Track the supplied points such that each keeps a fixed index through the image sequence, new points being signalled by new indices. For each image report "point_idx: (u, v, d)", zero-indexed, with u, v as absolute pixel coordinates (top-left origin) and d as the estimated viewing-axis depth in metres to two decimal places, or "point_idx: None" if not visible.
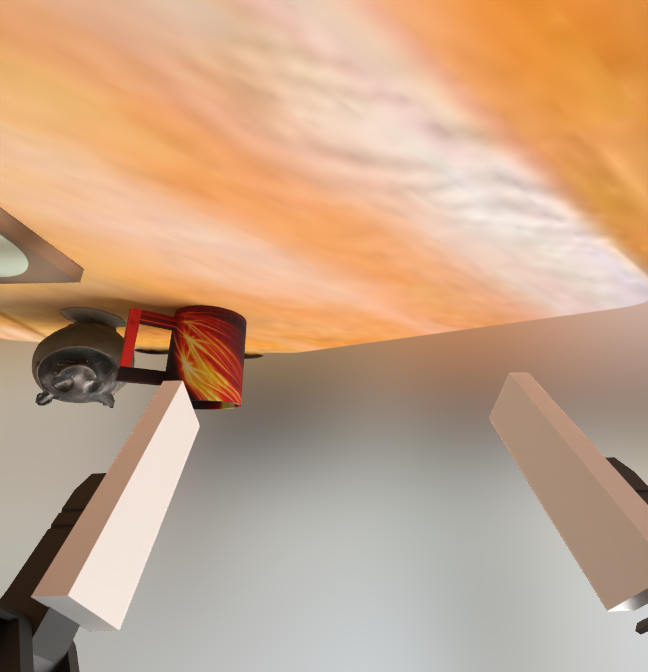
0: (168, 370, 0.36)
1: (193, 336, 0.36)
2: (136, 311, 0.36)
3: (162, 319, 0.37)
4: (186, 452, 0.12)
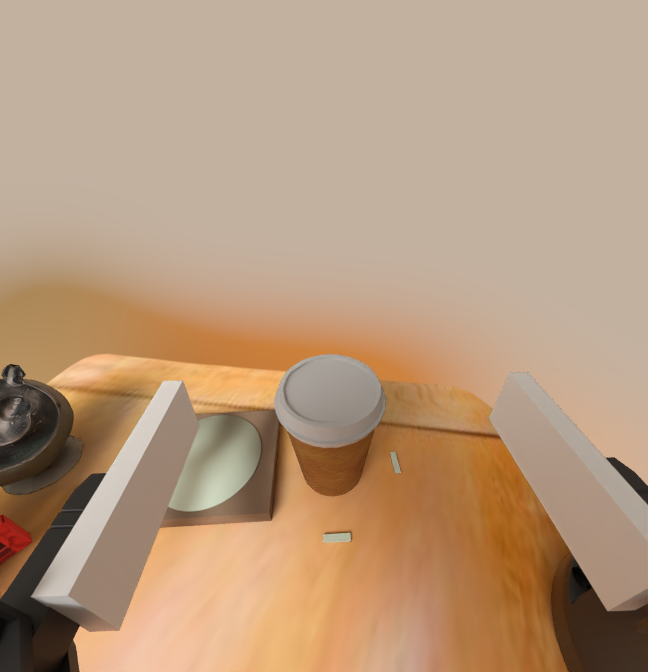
0: None
1: None
2: (21, 545, 0.25)
3: None
4: (186, 452, 0.12)
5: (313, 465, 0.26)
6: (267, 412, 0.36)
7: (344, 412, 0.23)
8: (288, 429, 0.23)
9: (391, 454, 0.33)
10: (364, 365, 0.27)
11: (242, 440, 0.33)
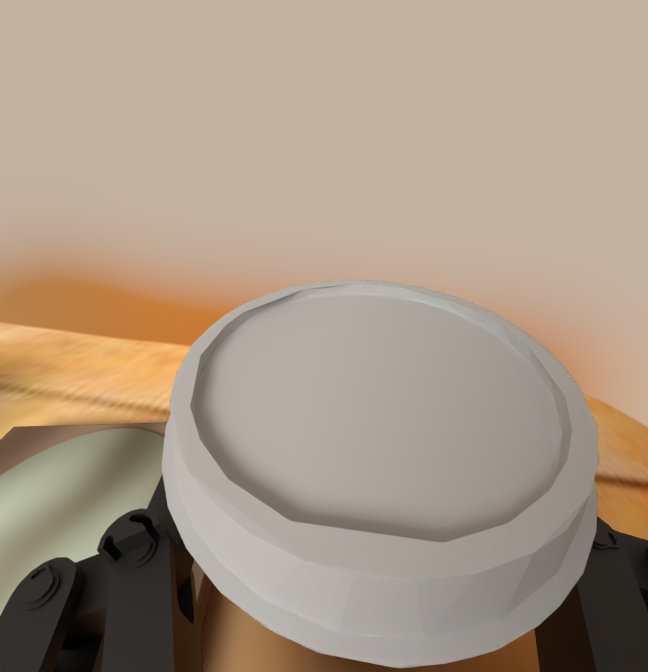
0: None
1: None
2: None
3: None
4: None
5: None
6: None
7: (452, 466, 0.05)
8: (187, 536, 0.05)
9: None
10: (467, 303, 0.09)
11: (148, 488, 0.15)
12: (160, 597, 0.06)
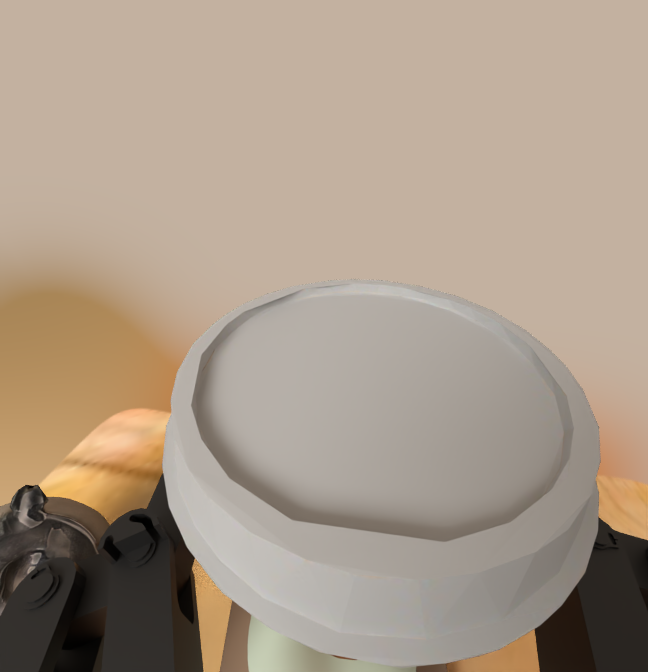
0: None
1: None
2: None
3: None
4: None
5: None
6: None
7: (454, 465, 0.05)
8: (188, 535, 0.05)
9: None
10: (467, 303, 0.09)
11: None
12: (160, 597, 0.06)
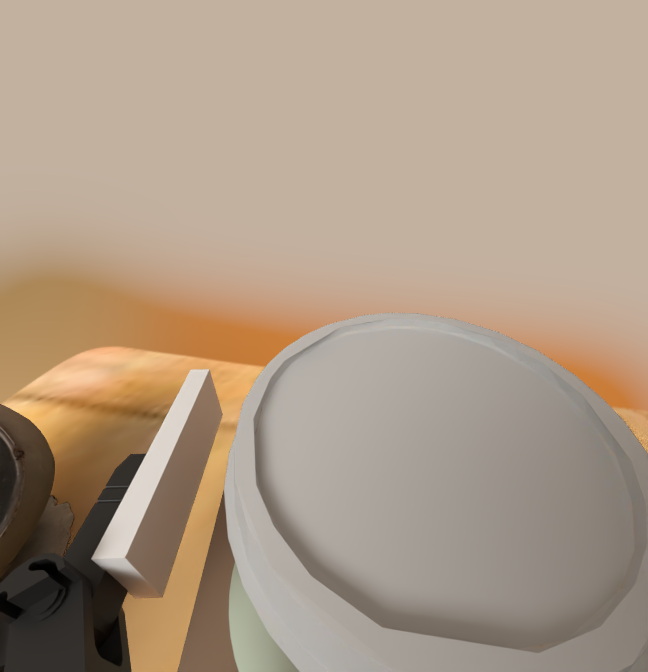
0: None
1: None
2: None
3: None
4: (212, 438, 0.12)
5: None
6: None
7: (526, 547, 0.05)
8: (267, 619, 0.05)
9: None
10: (509, 341, 0.09)
11: None
12: (71, 647, 0.06)
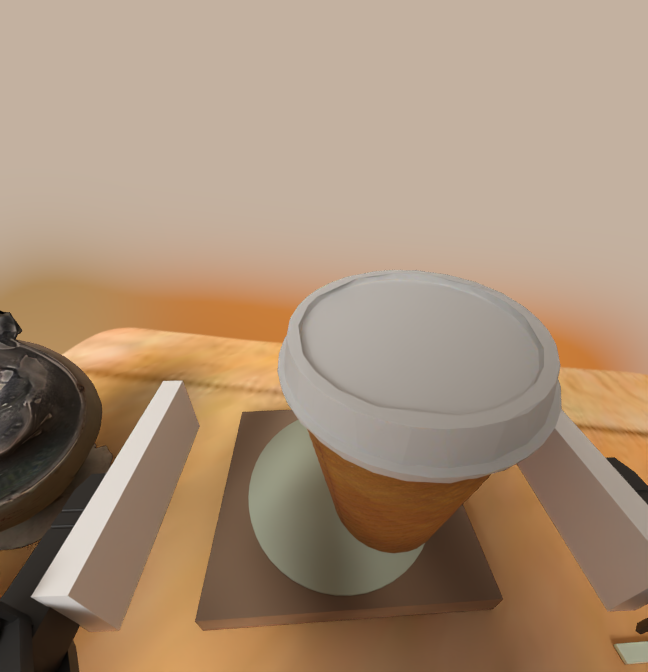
0: None
1: None
2: None
3: None
4: (186, 452, 0.12)
5: (362, 505, 0.11)
6: None
7: (466, 387, 0.08)
8: (309, 425, 0.09)
9: None
10: (483, 287, 0.12)
11: None
12: None
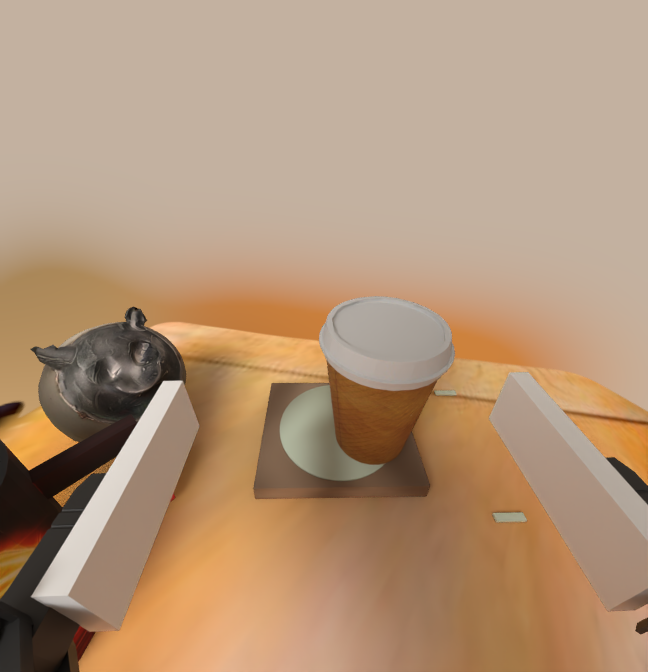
0: (48, 499, 0.16)
1: None
2: None
3: None
4: (186, 452, 0.12)
5: (354, 417, 0.22)
6: None
7: (405, 351, 0.19)
8: (334, 362, 0.19)
9: None
10: (430, 311, 0.22)
11: None
12: None
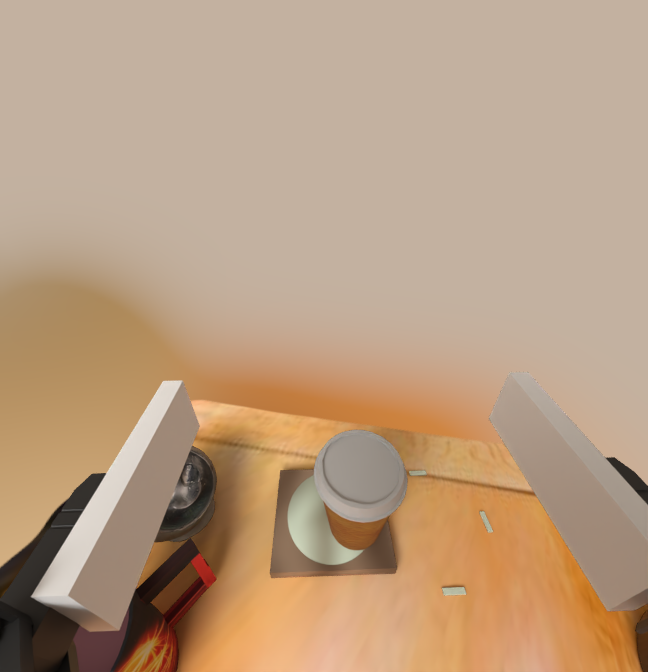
0: None
1: (161, 666, 0.25)
2: (211, 582, 0.32)
3: (185, 609, 0.30)
4: (186, 452, 0.12)
5: (339, 526, 0.31)
6: None
7: (371, 494, 0.28)
8: (323, 499, 0.28)
9: (481, 513, 0.39)
10: (392, 447, 0.31)
11: None
12: None
